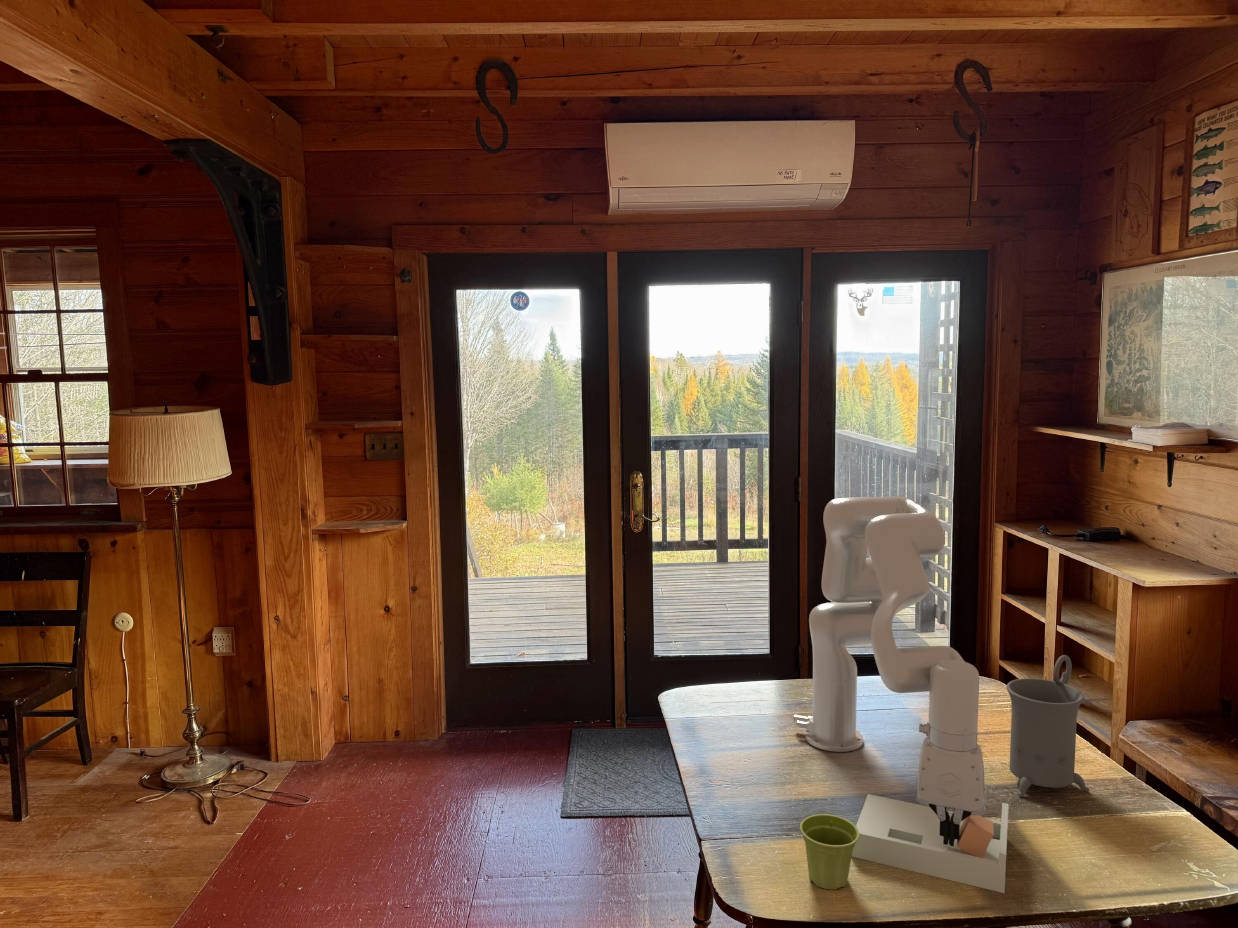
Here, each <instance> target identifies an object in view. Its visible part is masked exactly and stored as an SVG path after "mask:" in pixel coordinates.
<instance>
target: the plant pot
mask: <svg viewBox="0 0 1238 928" xmlns="http://www.w3.org/2000/svg"><path fill="white" fill-rule="evenodd" d="M799 830H800V833H801V834H802V837H803V838H802V839H803V841H804V844H805V851H806V852H805V853H806V861H807V868H808V876H809V879H810V881H812V882H813V883H814V884H815V885H816V886H817V887H818V888H819V887H820V888H822V889H826V890H832V891H833V890H837V889H839V888H844V887H845V886H846V885H847V883H848V879H849V874H850V870H851V869H850V868H851V863H852V852H853V848H854V847H855V844H856V842H857V841H858V839H859V831H858V829H857V827H856V825H855V824H854V823H853V822H852V821H850V820H849V819H847V818H844V817H841V816H839V815H835V814H830V813H829V814H828V813H820V814H819V813H818V814H812V815H809V816H807V817H805V818H804V819H803V820H802V821H800V824H799Z"/></svg>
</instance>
